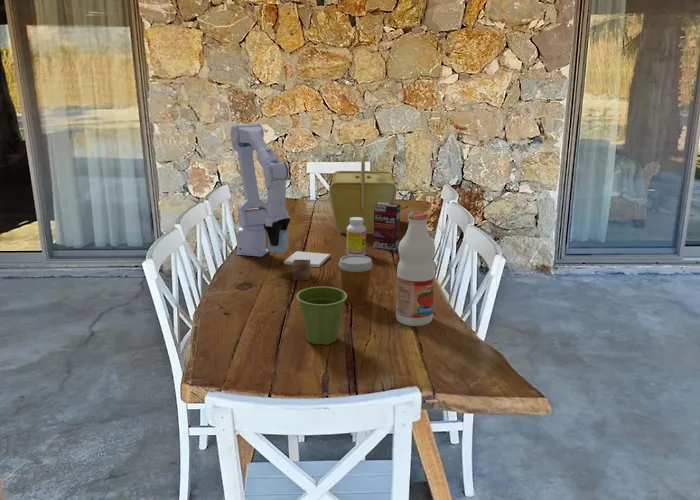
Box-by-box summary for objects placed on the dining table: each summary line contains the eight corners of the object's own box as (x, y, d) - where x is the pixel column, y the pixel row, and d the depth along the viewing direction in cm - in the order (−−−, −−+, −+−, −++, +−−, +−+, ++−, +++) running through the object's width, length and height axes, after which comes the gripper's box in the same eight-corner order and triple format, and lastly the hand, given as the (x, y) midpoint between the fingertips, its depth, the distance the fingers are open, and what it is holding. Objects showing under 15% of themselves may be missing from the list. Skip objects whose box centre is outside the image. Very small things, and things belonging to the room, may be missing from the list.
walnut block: (292, 280, 191) (292, 264, 190) (294, 274, 196) (294, 259, 195) (309, 280, 191) (309, 264, 190) (310, 275, 196) (310, 259, 195)
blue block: (267, 251, 198) (267, 233, 197) (273, 247, 203) (273, 229, 201) (282, 252, 197) (282, 234, 195) (288, 248, 202) (288, 230, 200)
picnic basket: (395, 235, 242) (398, 157, 234) (328, 235, 242) (328, 157, 234) (392, 218, 270) (393, 147, 262) (331, 217, 270) (331, 147, 262)
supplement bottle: (363, 258, 213) (364, 221, 210) (344, 257, 215) (344, 220, 211) (367, 252, 220) (367, 216, 216) (348, 251, 221) (349, 215, 217)
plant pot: (288, 345, 146) (287, 300, 143) (309, 326, 157) (309, 283, 154) (335, 353, 142) (335, 307, 139) (354, 333, 153) (354, 290, 150)
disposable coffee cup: (376, 297, 177) (377, 256, 174) (366, 309, 169) (367, 266, 165) (344, 293, 180) (345, 253, 177) (333, 304, 172) (333, 262, 168)
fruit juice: (401, 310, 167) (405, 208, 160) (436, 316, 164) (441, 211, 156) (390, 323, 159) (393, 215, 151) (427, 329, 156) (432, 219, 148)
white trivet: (284, 264, 206) (283, 261, 206) (296, 254, 217) (296, 251, 217) (318, 267, 203) (318, 264, 203) (329, 256, 214) (329, 254, 214)
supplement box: (372, 247, 226) (373, 204, 221) (377, 244, 230) (378, 201, 225) (395, 250, 223) (396, 206, 218) (399, 247, 227) (401, 203, 222)
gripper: (280, 206, 188) (281, 250, 192) (296, 197, 201) (297, 238, 205) (258, 205, 190) (259, 248, 193) (276, 196, 203) (277, 236, 207)
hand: (277, 243), depth 199 cm, fingers closed on blue block, 5 cm apart
